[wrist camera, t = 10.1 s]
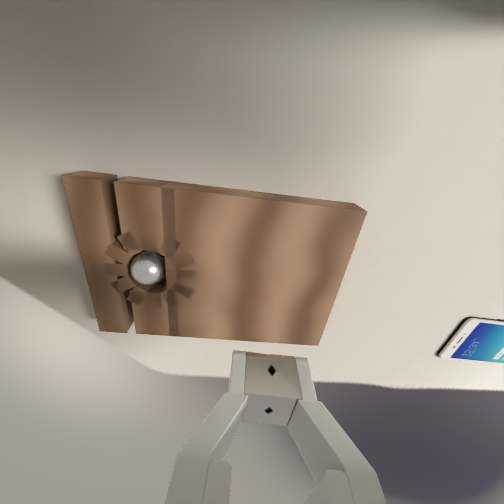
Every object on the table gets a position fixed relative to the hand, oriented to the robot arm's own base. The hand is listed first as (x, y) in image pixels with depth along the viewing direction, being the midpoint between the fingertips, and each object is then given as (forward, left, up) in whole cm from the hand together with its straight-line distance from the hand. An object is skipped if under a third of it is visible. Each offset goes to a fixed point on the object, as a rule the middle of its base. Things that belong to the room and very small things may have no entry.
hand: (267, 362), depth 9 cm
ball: (+8, +4, -13) cm, 16 cm away
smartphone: (-35, +12, -15) cm, 40 cm away
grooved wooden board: (+3, +4, -14) cm, 15 cm away
